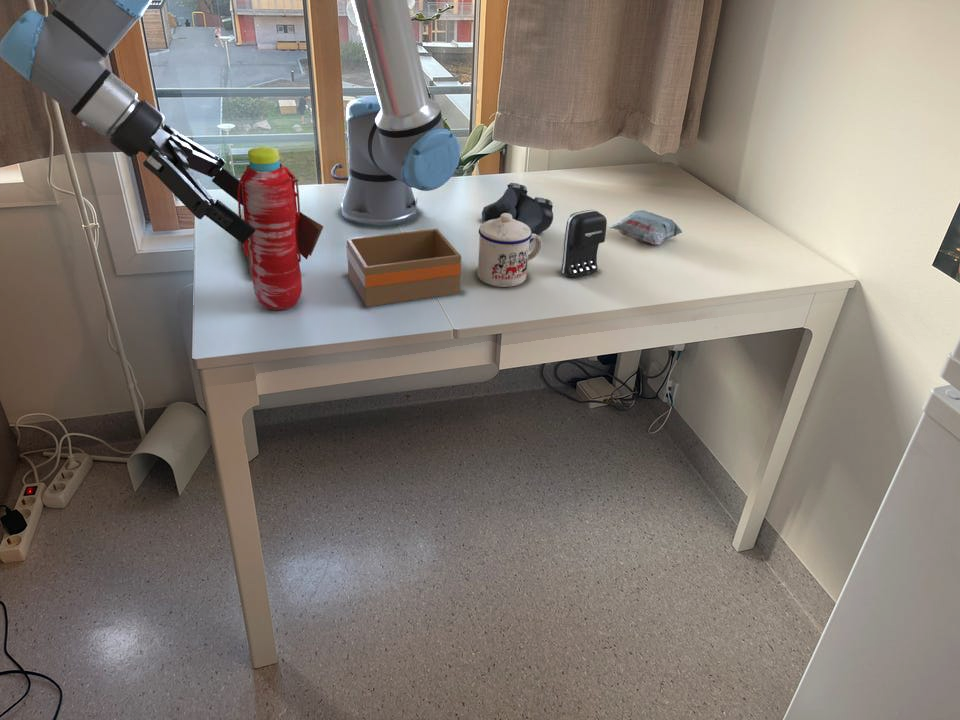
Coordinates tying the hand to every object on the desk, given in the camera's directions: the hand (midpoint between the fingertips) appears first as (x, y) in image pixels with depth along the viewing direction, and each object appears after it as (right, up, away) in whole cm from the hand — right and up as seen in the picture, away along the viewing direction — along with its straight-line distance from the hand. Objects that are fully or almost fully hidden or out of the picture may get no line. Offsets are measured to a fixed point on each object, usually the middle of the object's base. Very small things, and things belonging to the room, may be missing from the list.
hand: (251, 218), depth 113 cm
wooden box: (+21, -8, +15) cm, 28 cm away
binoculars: (+42, +5, +38) cm, 57 cm away
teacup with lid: (+40, -6, +21) cm, 45 cm away
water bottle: (+3, -12, +9) cm, 15 cm away
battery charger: (+53, -6, +23) cm, 58 cm away
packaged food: (+67, +3, +37) cm, 77 cm away
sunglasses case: (-4, -3, +22) cm, 22 cm away
